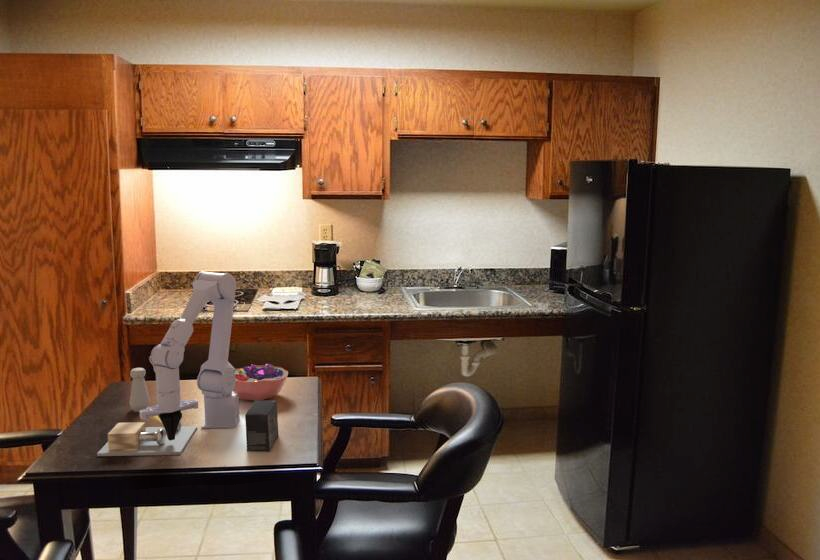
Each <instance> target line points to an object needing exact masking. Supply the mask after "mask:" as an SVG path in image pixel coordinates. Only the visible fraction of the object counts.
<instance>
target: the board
mask: <svg viewBox="0 0 820 560" xmlns="http://www.w3.org/2000/svg"><path fill="white" fill-rule="evenodd" d="M145 428H146V432H157V431H158V429H165V428H163V427H162V426H148V427H147V426H145ZM197 431H198V426H195V425H193V426H191V425H190V426H181V429H180V430H179V431H178V432H176V434H175V440H170V441H169V439H168V438H167V433H166V439H165V443H164V444H157V441H150V442H143V443H142V445H141V446H140V447H139V448H138V449H137V451H109V446H108V441H107V442H106V443H105V444H104V445H103V446H102V448H100V450H99V451H97V453H96V456H97V457H119V456H121V457H122V456H126V457H129V456H130V457H131V456H166V455H168V456H172V454H173V455H175V454H180V455H182V453H183V452H184V451H185V449H186V447H187V445H189V442H190V441H191V439H192V438H193V437H194V435H195V433H196V432H197ZM165 432H166V430H165Z"/></svg>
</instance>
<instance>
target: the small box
mask: <svg viewBox="0 0 820 560" xmlns="http://www.w3.org/2000/svg"><path fill="white" fill-rule="evenodd" d="M244 417H245V436H246V451H247V452H268V453H269V452H271V450H272V448H273V446H274V444H275V443H276V441H277V439H278V437H279V435H280V434H279V424H278V422H279V421H278V417H279V416H278V401H277V400H275V399H274V400H270V399H264V400H261V401H254V402H253V403H252V405H251V406H250V407H249V409H248V410H247V412H245V414H244Z"/></svg>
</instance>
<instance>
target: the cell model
mask: <svg viewBox="0 0 820 560" xmlns="http://www.w3.org/2000/svg"><path fill="white" fill-rule="evenodd" d="M288 375H289V371H288V370H286V369H284V368H283V367H281V366H274V365H272V364H271V363H266V364H265V365H263V364H262V365H255V364H251V366H247V365H244V367H240V368H235V379H236V385H235V388H234V390H233V391H232V393H237V394H238V398H239V399H240V400H245V401H246V400H247V401H254V402H255V401H265V400H270V399H272V398H274V397H275V396H277V395H278V394H279V393H280V392H281V390H282V388H283V387H284V385H285V384H286V382H287V379H288Z"/></svg>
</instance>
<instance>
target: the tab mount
mask: <svg viewBox="0 0 820 560" xmlns="http://www.w3.org/2000/svg"><path fill="white" fill-rule="evenodd" d="M181 423H182V421H181V420H180V422H179V424H178V427H177V430H176V432H178V431H179V430H180V429H181V427H182V424H181Z"/></svg>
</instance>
